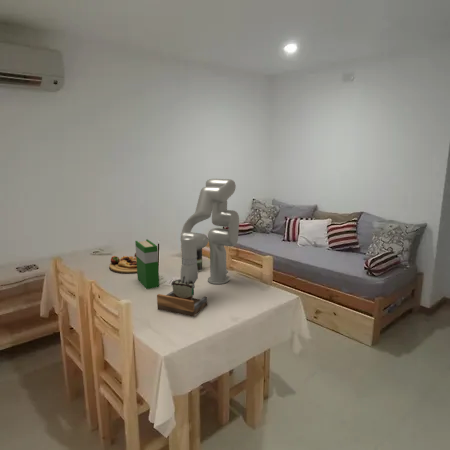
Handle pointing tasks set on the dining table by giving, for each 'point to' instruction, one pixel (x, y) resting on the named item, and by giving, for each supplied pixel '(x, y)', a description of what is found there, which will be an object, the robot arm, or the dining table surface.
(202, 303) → the tray
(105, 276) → the dining table surface
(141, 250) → the hardback book
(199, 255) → the coffee can
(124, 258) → the wooden plate with food
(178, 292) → the food container
